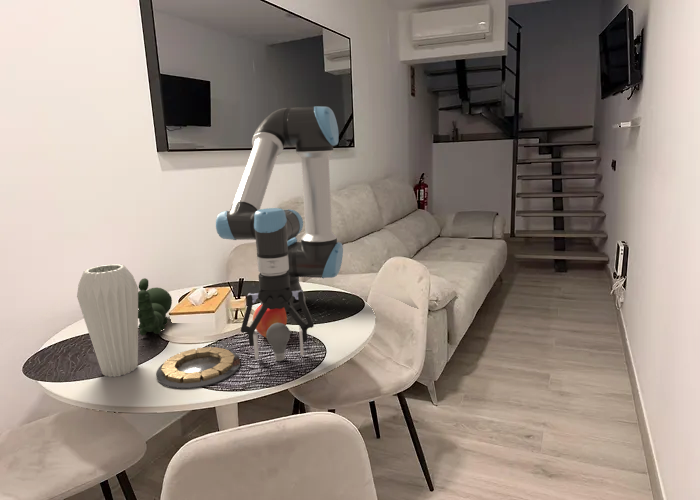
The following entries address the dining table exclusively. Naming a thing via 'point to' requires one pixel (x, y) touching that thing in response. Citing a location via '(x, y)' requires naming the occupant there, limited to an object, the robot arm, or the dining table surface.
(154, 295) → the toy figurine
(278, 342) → the light bulb
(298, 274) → the robot arm
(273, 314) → the apple
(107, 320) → the vase
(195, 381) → the socket
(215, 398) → the dining table surface
